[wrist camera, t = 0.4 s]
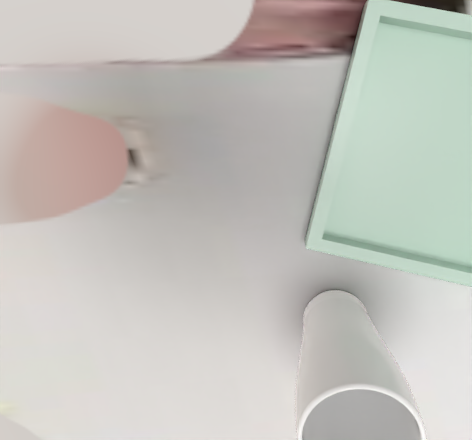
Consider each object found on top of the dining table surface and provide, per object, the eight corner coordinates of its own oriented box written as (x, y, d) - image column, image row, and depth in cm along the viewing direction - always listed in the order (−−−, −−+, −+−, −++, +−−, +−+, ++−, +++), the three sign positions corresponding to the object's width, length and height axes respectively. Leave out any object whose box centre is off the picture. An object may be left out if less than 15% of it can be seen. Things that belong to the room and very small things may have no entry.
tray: (363, 6, 32) (369, -4, 30) (577, 46, 31) (602, 39, 28) (305, 239, 36) (305, 248, 34) (490, 282, 35) (505, 294, 33)
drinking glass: (374, 276, 36) (428, 381, 22) (377, 352, 38) (430, 498, 23) (291, 281, 37) (289, 385, 23) (297, 355, 39) (300, 496, 24)
